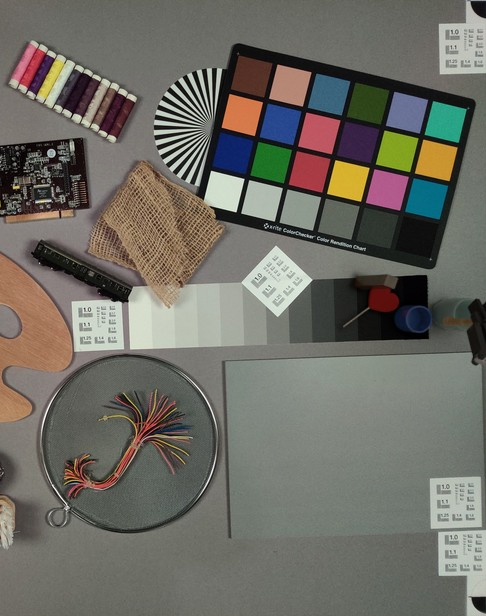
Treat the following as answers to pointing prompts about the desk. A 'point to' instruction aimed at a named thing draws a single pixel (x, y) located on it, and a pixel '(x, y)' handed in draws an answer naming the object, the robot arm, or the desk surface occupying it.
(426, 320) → the bowl
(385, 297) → the lollipop
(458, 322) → the stick
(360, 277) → the block
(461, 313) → the cup
